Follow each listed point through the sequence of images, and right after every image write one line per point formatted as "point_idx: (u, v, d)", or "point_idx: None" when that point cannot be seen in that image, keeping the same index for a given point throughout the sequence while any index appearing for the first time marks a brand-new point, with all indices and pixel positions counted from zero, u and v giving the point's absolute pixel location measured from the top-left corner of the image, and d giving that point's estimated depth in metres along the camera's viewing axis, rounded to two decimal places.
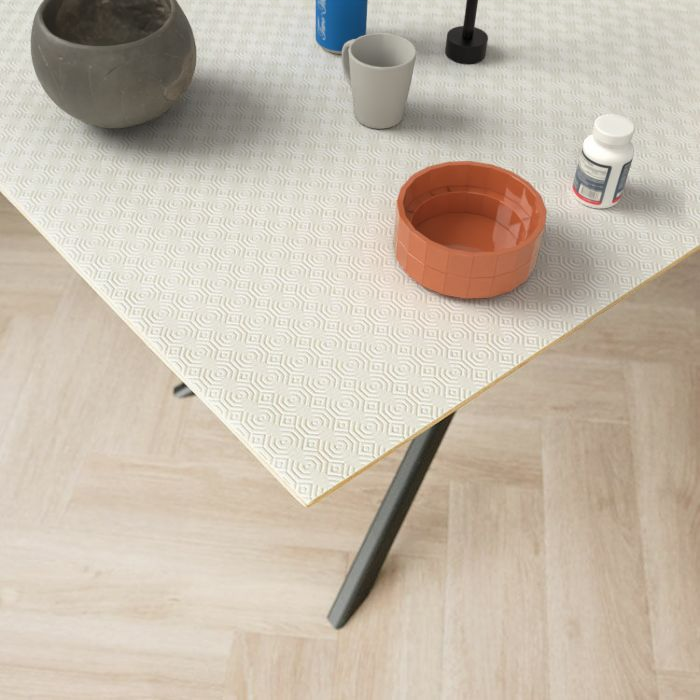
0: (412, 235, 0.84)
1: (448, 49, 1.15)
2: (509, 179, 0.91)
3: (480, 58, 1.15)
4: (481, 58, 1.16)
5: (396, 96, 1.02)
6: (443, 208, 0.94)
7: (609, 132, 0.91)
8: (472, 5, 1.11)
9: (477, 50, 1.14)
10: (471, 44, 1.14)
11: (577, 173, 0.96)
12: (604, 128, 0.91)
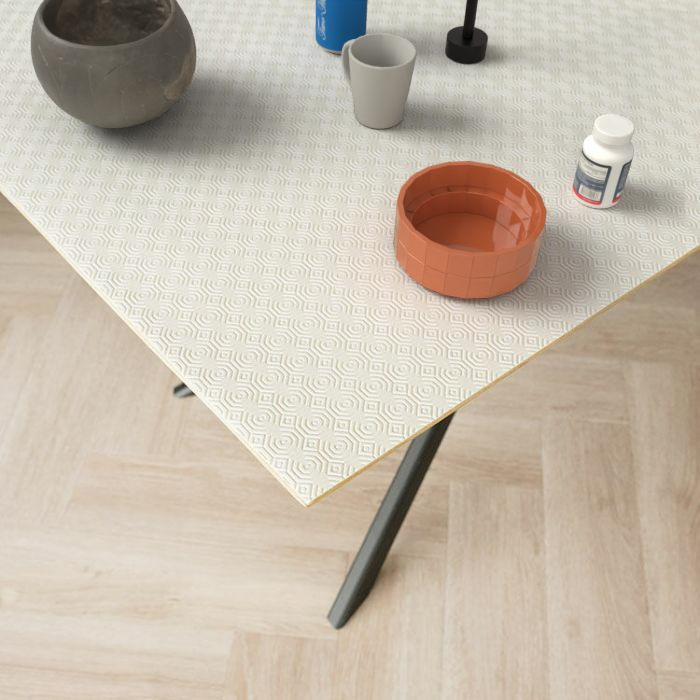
0: (412, 235, 0.84)
1: (448, 49, 1.15)
2: (509, 179, 0.91)
3: (480, 58, 1.15)
4: (481, 58, 1.16)
5: (396, 96, 1.02)
6: (443, 208, 0.94)
7: (609, 132, 0.91)
8: (472, 5, 1.11)
9: (477, 50, 1.14)
10: (471, 44, 1.14)
11: (577, 173, 0.96)
12: (604, 128, 0.91)
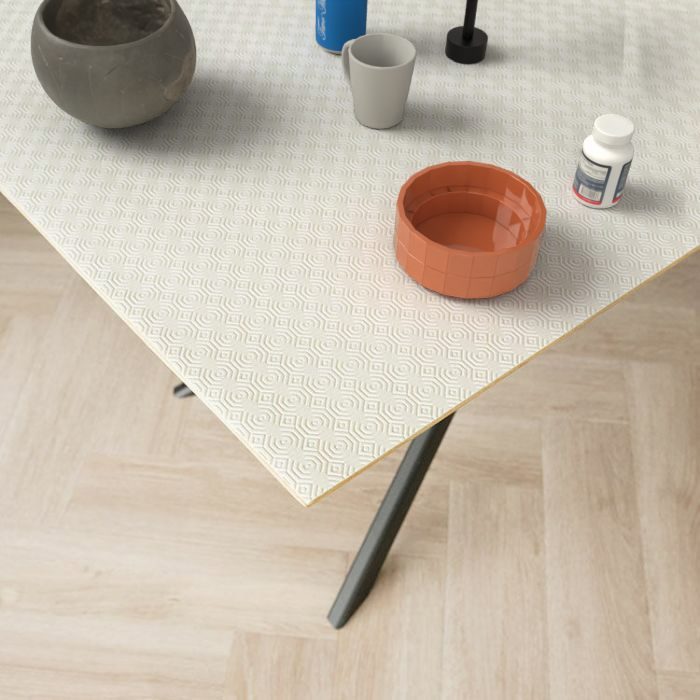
0: (412, 235, 0.84)
1: (448, 49, 1.15)
2: (509, 179, 0.91)
3: (480, 58, 1.15)
4: (481, 58, 1.16)
5: (396, 96, 1.02)
6: (443, 208, 0.94)
7: (609, 132, 0.91)
8: (472, 5, 1.11)
9: (477, 50, 1.14)
10: (471, 44, 1.14)
11: (577, 173, 0.96)
12: (604, 128, 0.91)
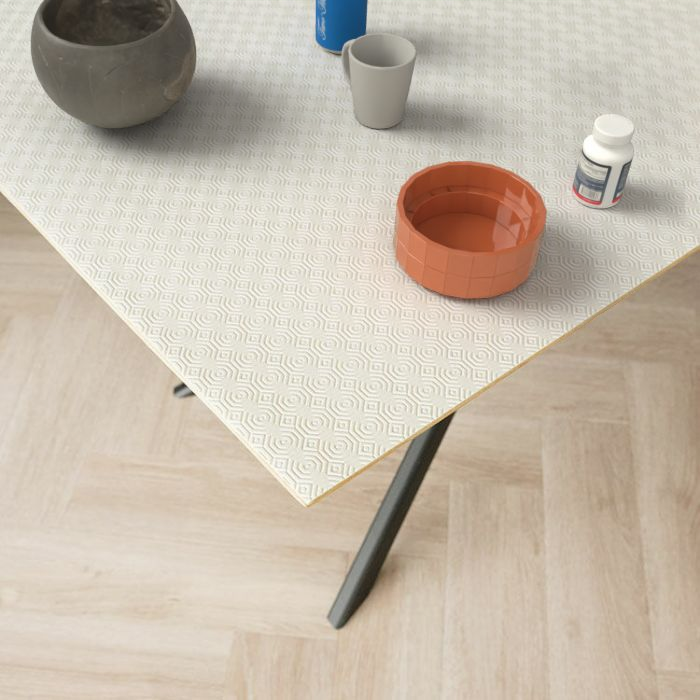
0: (412, 235, 0.84)
1: None
2: (509, 179, 0.91)
3: None
4: None
5: (396, 96, 1.02)
6: (443, 208, 0.94)
7: (609, 132, 0.91)
8: None
9: None
10: None
11: (577, 173, 0.96)
12: (604, 128, 0.91)
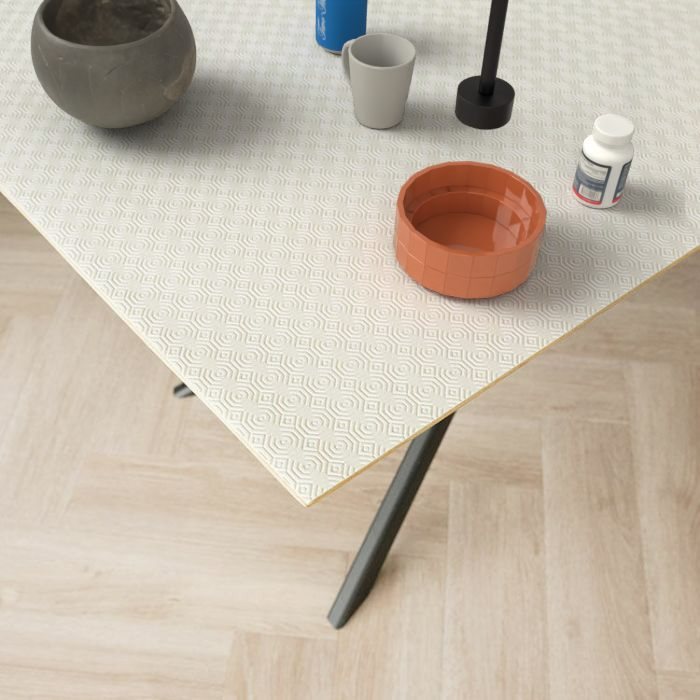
0: (412, 235, 0.84)
1: (459, 108, 0.82)
2: (509, 179, 0.91)
3: (504, 121, 0.82)
4: (505, 121, 0.82)
5: (396, 96, 1.02)
6: (443, 208, 0.94)
7: (609, 132, 0.91)
8: (493, 49, 0.78)
9: (499, 112, 0.81)
10: (491, 104, 0.81)
11: (577, 173, 0.96)
12: (604, 128, 0.91)
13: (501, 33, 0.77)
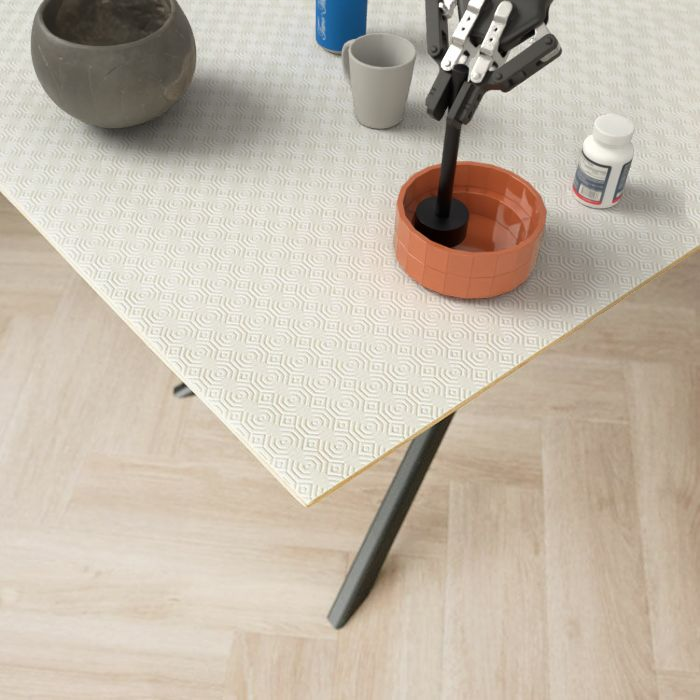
0: (412, 235, 0.84)
1: (417, 228, 0.88)
2: (509, 179, 0.91)
3: (459, 241, 0.88)
4: (460, 240, 0.88)
5: (396, 96, 1.02)
6: None
7: (609, 132, 0.91)
8: (447, 179, 0.84)
9: (454, 233, 0.87)
10: (446, 226, 0.87)
11: (577, 173, 0.96)
12: (604, 128, 0.91)
13: (454, 166, 0.83)
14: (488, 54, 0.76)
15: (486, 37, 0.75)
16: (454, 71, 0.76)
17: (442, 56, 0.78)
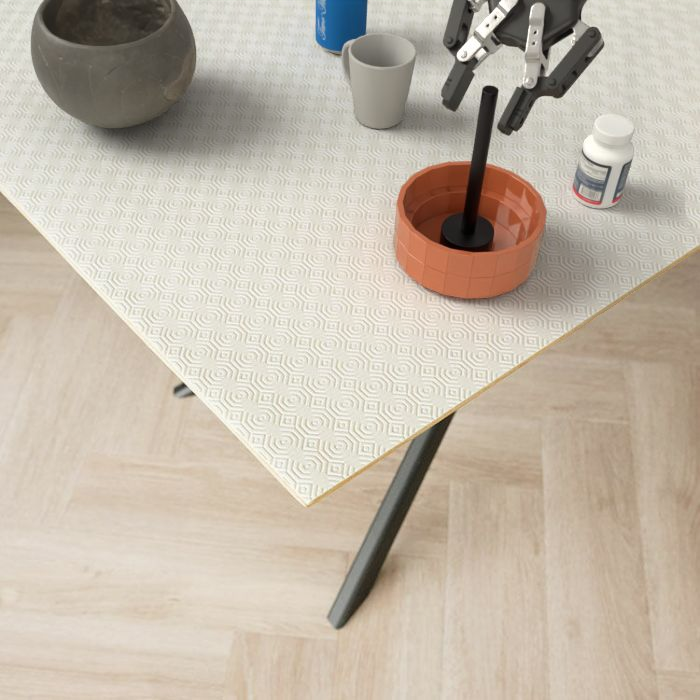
0: (412, 235, 0.84)
1: (443, 245, 0.89)
2: (509, 179, 0.91)
3: None
4: None
5: (396, 96, 1.02)
6: (443, 208, 0.94)
7: (609, 132, 0.91)
8: (474, 197, 0.86)
9: (480, 250, 0.88)
10: (472, 243, 0.88)
11: (577, 173, 0.96)
12: (604, 128, 0.91)
13: (481, 184, 0.85)
14: (535, 57, 0.75)
15: (528, 42, 0.75)
16: (483, 93, 0.78)
17: (458, 47, 0.78)
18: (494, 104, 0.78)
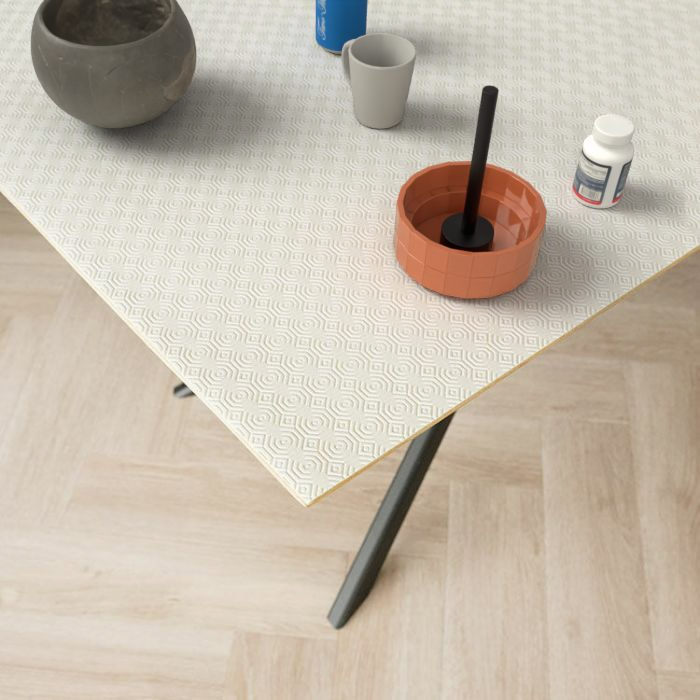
0: (412, 235, 0.84)
1: (443, 245, 0.89)
2: (509, 179, 0.91)
3: None
4: None
5: (396, 96, 1.02)
6: (443, 208, 0.94)
7: (609, 132, 0.91)
8: (474, 197, 0.86)
9: (480, 250, 0.88)
10: (472, 243, 0.88)
11: (577, 173, 0.96)
12: (604, 128, 0.91)
13: (481, 184, 0.85)
14: None
15: None
16: (483, 93, 0.78)
17: None
18: (494, 104, 0.78)
